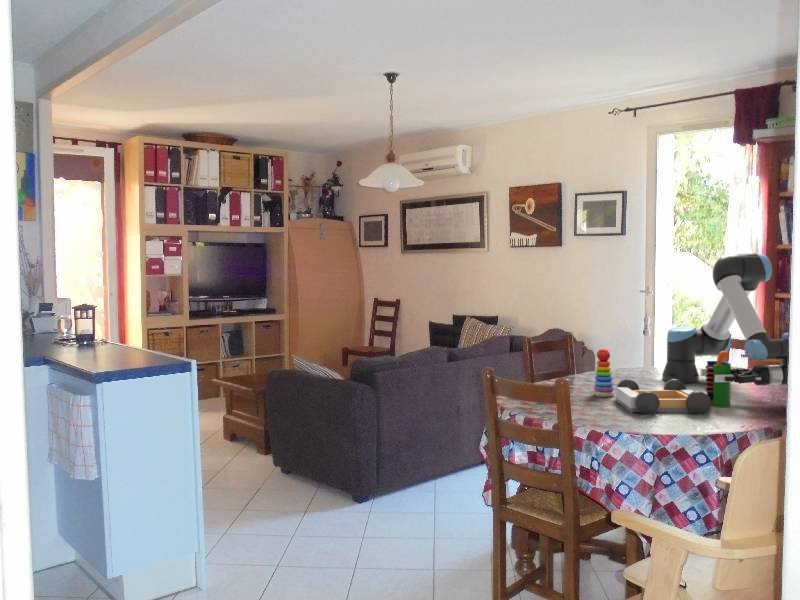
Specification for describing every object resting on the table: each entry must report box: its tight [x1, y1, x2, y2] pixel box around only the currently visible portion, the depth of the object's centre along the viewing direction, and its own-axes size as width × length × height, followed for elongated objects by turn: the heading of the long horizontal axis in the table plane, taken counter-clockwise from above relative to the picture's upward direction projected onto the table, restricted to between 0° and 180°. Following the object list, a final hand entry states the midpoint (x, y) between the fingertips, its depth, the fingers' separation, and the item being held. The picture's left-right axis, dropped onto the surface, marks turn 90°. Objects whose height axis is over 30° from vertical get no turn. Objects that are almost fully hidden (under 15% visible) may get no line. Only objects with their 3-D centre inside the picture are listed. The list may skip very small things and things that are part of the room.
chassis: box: [615, 378, 712, 415], centre depth 264 cm, size 25×28×8 cm
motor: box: [704, 351, 732, 408], centre depth 267 cm, size 10×9×20 cm
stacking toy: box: [593, 348, 615, 398], centre depth 284 cm, size 8×8×19 cm
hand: (707, 375), depth 267 cm, fingers open, 12 cm apart
